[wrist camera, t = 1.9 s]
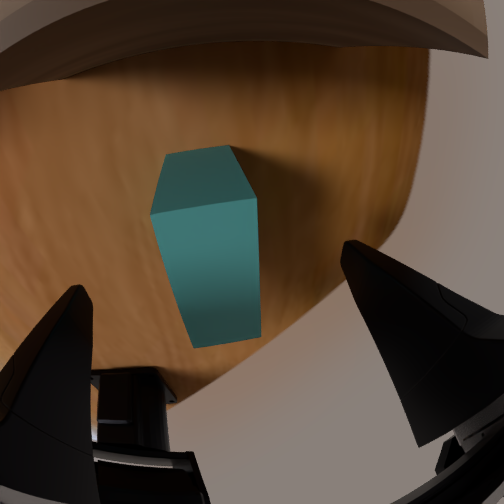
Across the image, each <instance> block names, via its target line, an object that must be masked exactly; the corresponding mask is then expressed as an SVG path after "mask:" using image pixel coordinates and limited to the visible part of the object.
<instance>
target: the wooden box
mask: <svg viewBox="0 0 504 504" xmlns="http://www.w3.org/2000/svg"><path fill="white" fill-rule="evenodd" d="M231 41H285V42H300V43H311V44H320V45H328V46H335V47H355V46H404V47H419V48H429V49H438V50H446V51H452V52H459V53H464V54H469V55H474V56H478V57H483V58H487V59H488V38H487V25H486V16H485V8H484V2H483V0H0V91H3V90H7V89H11V88H15V87H20V86H25V85H30V84H35V83H41V82H47V81H54V80H62V79H64V78H67V77H69V76H72V75H74V74H77V73H80V72H82V71H85V70H88V69H91V68H94V67H97V66H100V65H103V64H106V63H109V62H113V61H116V60H119V59H123V58H127V57H131V56H135V55H139V54H143V53H148V52H153V51H158V50H163V49H168V48H174V47H181V46H188V45H196V44H205V43H216V42H231Z"/></svg>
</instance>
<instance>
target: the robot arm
mask: <svg viewBox="0 0 504 504" xmlns="http://www.w3.org/2000/svg"><path fill="white" fill-rule="evenodd" d="M340 263H341V267H342V270H343V272H344V275H345V277H346V280H347V282H348V285H349V287H350V289H351V292H352V295H353V298H354V300H355V302H356V304H357V307H358V309H359V310H360V313H361V315H362V317H363V319H364V321H365V323H366V325H367V327H368V329H369V331H370V333H371V335H372V337H373V339H374V341H375V343H376V345H377V348H378V350H379V352H380V354H381V356H382V358H383V361H384V363H385V365H386V367H387V370H388V372H389V374H390V377H391V379H392V381H393V384H394V386H395V388H396V391H397V393H398V396H399V398H400V400H401V403H402V406H403V408H404V411H405V413H406V416H407V418H408V421H409V424H410V426H411V429H412V432H413V434H414V437H415V440H416V443H417V445H418V447H422V446H424V445H426V444H427V443H430V442H431V441H433V440H435V439H437V438H439V437H440V436H442V435H444V434H446V433H448V432H449V431H451V430H453V432H454V435H453V436H452V437H450V438H449V439H448V440H447V441H445V442H444V443H443V446H442V450H441V453H440V456H439V459H438V462H437V465H436V468H435V471H436V474H437V476H435V477H434V478H432V479H431V480H430V481H428V482H427V483H425V484H423V485H422V486H420V487H419V488H417V489H416V490H414V491H412V492H411V493H409V494H408V495H405V496H404V497H402V498H400V499H398V500H397V501H395V502H393V503H391V504H496V503H497V502H498V501H499V500H500V499H501V498H502V497H504V315H499V314H496V313H494V312H491V311H490V310H488V309H486V308H484V307H482V306H480V305H478V304H476V303H474V302H472V301H470V300H468V299H466V298H464V297H462V296H461V295H459V294H457V293H455V292H453V291H451V290H450V289H448V288H446V287H444V286H442V285H441V284H439V283H436V282H435V281H433V280H432V279H430V278H428V277H426V276H425V275H423V274H421V273H419V272H417V271H415V270H414V269H412V268H410V267H408V266H406V265H404V264H402V263H401V262H399V261H397V260H395V259H393V258H391V257H389V256H387V255H385V254H383V253H382V252H380V251H378V250H376V249H374V248H372V247H370V246H368V245H366V244H364V243H362V242H360V241H358V240H349V241H345V242H344V245H343V249H342V254H341V260H340ZM92 349H93V304H92V301H91V299H90V297H89V296H88V294H87V292H86V290H85V288H84V287H83V286H82V285H80V284H79V285H73V286H71V287H70V288H69V289H68V290H67V291H66V292H65V293H64V294H63V295H62V296H61V297H60V298H59V300H58V301H57V302H56V303H55V304H54V305H53V306H52V307H51V308H50V310H49V311H48V312H47V313H46V314H45V315H44V317H43V318H42V319H41V320H40V321H39V322H38V324H37V325H36V326H35V327H34V328H33V330H32V331H31V332H30V333H29V335H28V336H27V337H26V338H25V340H24V341H23V342H22V343H21V345H20V346H19V347H18V349H17V350H16V351H15V353H14V355H12V357H11V358H10V359H9V361H8V362H7V363H6V365H5V366H4V367H3V369H2V370H1V372H0V504H211V503H210V499H209V496H208V493H207V490H206V487H205V484H204V482H203V479H202V476H201V473H200V470H199V467H198V464H197V461H196V458H195V455H194V452H192V451H190V452H189V451H186V452H170V446H169V435H168V426H167V413H166V404H171V403H176V402H177V397H176V396H175V394H174V393H173V392H172V390H171V389H170V387H169V386H168V385H167V383H166V382H165V380H164V379H163V378H162V376H161V375H160V373H159V372H158V370H156V369H154V368H144V369H131V370H114V371H91V365H92ZM91 384H92V385H93V386H94V387H95V388H97V389H98V404H97V421H98V423H97V442H93V441H92V434H91V405H90V395H91ZM94 457H96V458H101V459H106V460H112V461H119V462H126V463H134V464H144V465H157V466H173V468H156V467H144V466H134V465H126V464H119V463H112V462H106V461H101V460H98V462H94Z"/></svg>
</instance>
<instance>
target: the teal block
mask: <svg viewBox="0 0 504 504" xmlns="http://www.w3.org/2000/svg"><path fill="white" fill-rule="evenodd" d="M150 217H151V220H152V224H153V228H154V231H155V235H156V239H157V242H158V246H159V249H160V252H161V256H162V259H163V262H164V265H165V269H166V272H167V275H168V278H169V281H170V284H171V287H172V290H173V293H174V296H175V299H176V302H177V305H178V308H179V311H180V313H181V316H182V319H183V322H184V324H185V327H186V330H187V332H188V335H189V338H190V340H191V343H192V345H193V348H200V347H207V346H213V345H220V344H226V343H231V342H237V341H242V340H248V339H253V338H258V337H261V310H260V276H259V245H258V216H257V197H256V195H255V194H254V192H253V190H252V188H251V186H250V184H249V182H248V180H247V178H246V176H245V174H244V173H243V171H242V169H241V167H240V165H239V163H238V161H237V159H236V158H235V156H234V154H233V152H232V150H231V148H230V146H229V145H226V146H218V147H210V148H203V149H196V150H190V151H184V152H178V153H172V154H166V156H165V159H164V163H163V166H162V170H161V173H160V177H159V181H158V184H157V188H156V192H155V196H154V200H153V204H152V208H151V213H150Z"/></svg>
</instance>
